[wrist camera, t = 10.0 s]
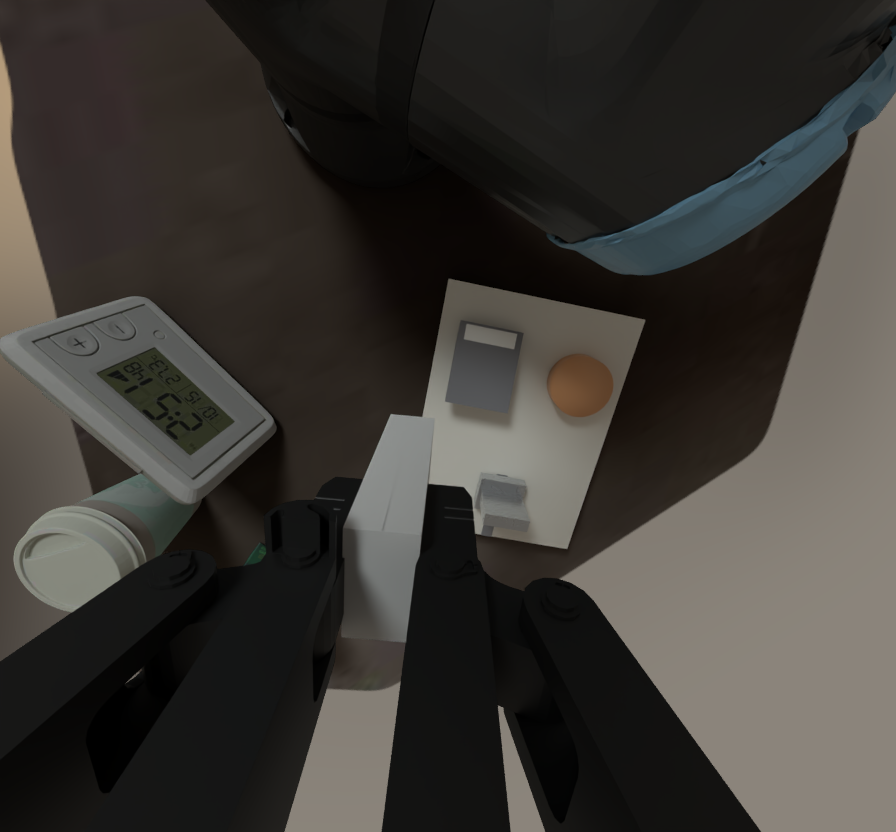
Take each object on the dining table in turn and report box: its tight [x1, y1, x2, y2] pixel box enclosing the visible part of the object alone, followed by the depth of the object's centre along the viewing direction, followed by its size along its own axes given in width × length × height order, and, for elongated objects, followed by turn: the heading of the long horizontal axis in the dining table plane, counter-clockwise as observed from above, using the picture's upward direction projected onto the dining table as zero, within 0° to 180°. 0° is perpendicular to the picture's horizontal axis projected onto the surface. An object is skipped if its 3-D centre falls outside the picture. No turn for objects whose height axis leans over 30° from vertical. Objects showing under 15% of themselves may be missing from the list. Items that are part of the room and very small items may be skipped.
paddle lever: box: [474, 472, 530, 532], centre depth 35 cm, size 3×4×5 cm
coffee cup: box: [14, 474, 202, 612], centre depth 35 cm, size 8×8×12 cm
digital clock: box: [0, 296, 277, 505], centre depth 33 cm, size 16×9×11 cm, turn 29°
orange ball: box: [547, 354, 613, 417], centre depth 35 cm, size 5×5×5 cm
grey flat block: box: [445, 320, 524, 414], centre depth 33 cm, size 6×5×1 cm
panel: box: [423, 279, 645, 549], centre depth 37 cm, size 22×16×4 cm
